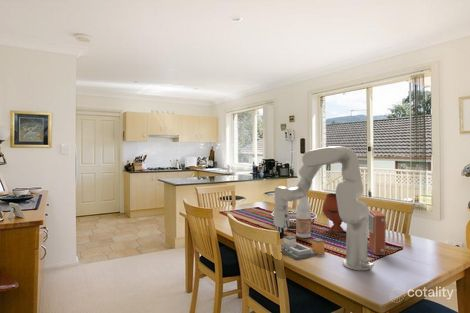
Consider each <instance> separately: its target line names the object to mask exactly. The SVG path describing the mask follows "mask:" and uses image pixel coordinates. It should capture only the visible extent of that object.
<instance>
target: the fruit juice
mask: <svg viewBox="0 0 470 313" xmlns="http://www.w3.org/2000/svg"><path fill="white" fill-rule="evenodd" d="M308 196H309V194H308V192H307V193H306V194H305V196H304V197H303V198H301V199H298V202H297V204H296V216H295V220H296V221H295V225H296V226H295V230H296V231H295V233H296V237H298V238H301V239H302V238H303V239H307V238H311V236H312V213H311V209H312V208H311V204H310V202H309V199H308Z"/></svg>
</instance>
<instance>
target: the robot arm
mask: <svg viewBox="0 0 470 313" xmlns="http://www.w3.org/2000/svg"><path fill="white" fill-rule="evenodd" d="M301 161H302V165H301V167H300V169H299V170H298V174H299V176H300V180H299V181H298V183H297V184H296V186H292V187H287V186H283V185H278V186H275V188H274V209H273V210H274V211H273V225H274V226H275V228H276V231H277V232H278V231H279V232H280V239H279V240H282V239H283V240H284V236H285V231H286V232H287V231H288V228H289V227H290V214H289V210H288V206H289V205H288V202H294V201H299V199H301V198H303V197H304V196H305V194H306V193H307V194H308V191H309V190H310V189H311V186H312V183H313V180H314V178H315V176H317V174H318V172H319V171H320V170H321V168H322V167H323V166H326V165H333V164H341V176H342V181H340V182H339V183H338V184H337V186H336V188H335V193H336V199H337V205H338V212H339V216H340V218H341V220H342V221H343V222H342V223H345V224H346V232H345V234H346V238H345V242H346V243H345V246H346V248H345V250H346V251H345V254H346V255H345V259H344V260H342V265H343V266H344V267H345V268H347V269H349V270H353V271H369V270H372V269H373V268H374V263H372V262H370V258H369V257H368V235H369V234H368V233H369V229H368V223H369V213H370V208H369V207H368V205H367V204H366V203H365V202H363V201H361V200H358V198H359V197H361V196H362V195H363V193H364V186H363V180H362V175H361V174H362V173H361V168H360V164H359V163H360V162H359V158H358V156H357V154H356V152H355V150H354V151H353V150H352V149H351V148H349V147H347V146H346V147H345V146H342V145H338V146H337V145H335V146H333V145H332V146H326V147H321V148H316V149H311V150H308V151H305V152H304V153H303V155H302V158H301Z"/></svg>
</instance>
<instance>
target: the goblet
mask: <svg viewBox="0 0 470 313" xmlns="http://www.w3.org/2000/svg"><path fill="white" fill-rule="evenodd" d="M322 213H323V214H324V216H325V217H326V218H327V219H328V220H329V221H331V222H332V226H331V227H330V228H329V230H330V231H331V232H335V233H342V232H343V231H344V228H343V227H342V223H344V222H343V221H342V220H341V218H340V216H339V212H338V205H337V199H336V192H335V193H327V194H326V197H325V199H324V201H323V204H322Z"/></svg>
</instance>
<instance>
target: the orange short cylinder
mask: <svg viewBox="0 0 470 313" xmlns="http://www.w3.org/2000/svg"><path fill="white" fill-rule="evenodd" d="M311 251H313V252H316V255H322V254H324V253H325V240H324V239H322V238H319V237H317V238H316V237H315V238H313V239H311Z"/></svg>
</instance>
